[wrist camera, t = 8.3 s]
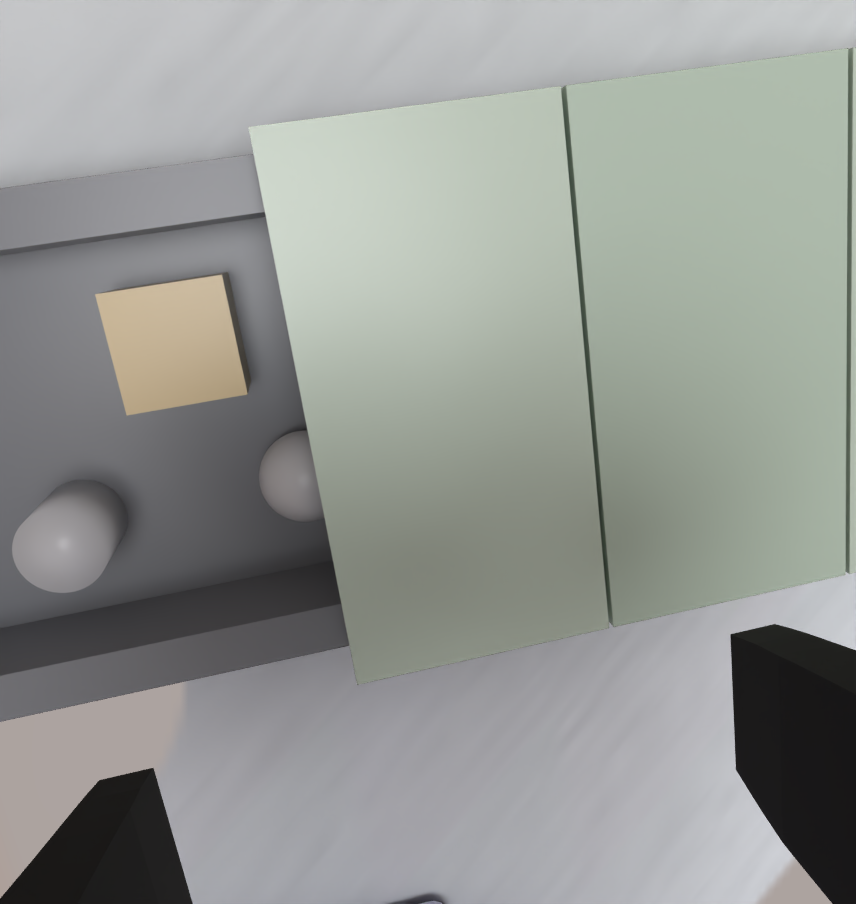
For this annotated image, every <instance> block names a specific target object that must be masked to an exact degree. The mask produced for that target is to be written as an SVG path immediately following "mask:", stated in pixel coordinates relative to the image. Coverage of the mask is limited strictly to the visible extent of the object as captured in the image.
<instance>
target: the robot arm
mask: <svg viewBox="0 0 856 904" xmlns="http://www.w3.org/2000/svg"><path fill="white" fill-rule="evenodd" d="M731 657H732V681H733V705H734V730H735V754H736V770H737V772H738V774H739V775H740V777H741V778H742V780H743V782H744V783H745V785H746V787H747V788H748V790H749V791H750V793H751V795H752V796H753V798H754V799H755V801H756V803H757V804H758V806H759V807H760V809H761V811H762V812H763V814H764V815H765V817H766V818H767V820H768V821H769V823H770V824H771V826H772V827H773V829H774V830H775V832H776V833H777V835H778V836H779V838H780V839H781V841H782V842H783V843H784V845H785V846H786V847H787V848H788V850H789V851H790V852H791V853H792V855H793V856H794V857H795V858H796V860H797V861H798V862H799V863H800V865H801V866H802V867H803V868H804V869H805V871H806V872H807V873H808V874H809V876H810V877H811V878H812V879H813V880H814V882H815V883H816V884H817V885H818V887H819V888H820V889H821V890H822V891H823V893H824V894H825V895H826V896H827V897H828V899H829V900H830V901H831V902H832V904H856V650H853V649H850V648H847V647H844V646H842V645H839V644H836V643H833V642H830V641H827V640H825V639H822V638H819V637H816V636H813V635H810V634H807V633H804V632H801V631H797V630H794V629H791V628H787V627H783V626H780V625H776V624H774V625H769V626H765V627H761V628H756V629H752V630H748V631H743V632H739V633H735V634H731ZM0 904H192V900H191V897H190V893H189V890H188V886H187V883H186V879H185V876H184V872H183V869H182V865H181V862H180V859H179V855H178V852H177V848H176V845H175V841H174V838H173V834H172V831H171V827H170V824H169V820H168V817H167V814H166V810H165V807H164V803H163V800H162V796H161V793H160V789H159V786H158V782H157V779H156V775H155V772H154V769H153V768H150V769H146V770H142V771H138V772H133V773H129V774H125V775H120V776H116V777H112V778H107V779H103V780H99V781H98V782H97V784H96V785H95V786H94V787H93V788H92V789H91V790H90V791H89V792H88V794H87V795H86V796H85V797H84V798H83V800H82V801H81V802H80V803H79V804H78V806H77V807H76V808H75V809H74V810H73V812H72V813H71V814H70V815H69V816H68V818H67V819H66V820H65V821H64V823H63V824H62V825H61V826H60V827H59V829H58V830H57V831H56V832H55V834H54V835H53V836H52V837H51V838H50V840H49V841H48V842H47V843H46V844H45V846H44V847H43V848H42V849H41V851H40V852H39V853H38V854H37V856H36V857H35V858H34V859H33V860H32V862H31V863H30V864H29V865H28V866H27V868H26V869H25V870H24V871H23V872H22V873H21V875H20V876H19V877H18V878H17V879H16V881H15V882H14V883H13V884H12V885H11V887H10V888H9V889H8V890H7V891H6V892H5V894H4V895H3V896H2V897H1V898H0ZM420 904H442V903H441V902H438V901H428V902H424V903H420Z"/></svg>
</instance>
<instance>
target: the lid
mask: <svg viewBox="0 0 856 904" xmlns="http://www.w3.org/2000/svg"><path fill="white" fill-rule="evenodd" d="M248 128H249V133H250V138H251V143H252V149H253V154H254V159H255V164H256V169H257V174H258V179H259V184H260V190H261V195H262V200H263V205H264V210H265V215H266V220H267V225H268V231H269V236H270V241H271V246H272V251H273V256H274V261H275V266H276V271H277V277H278V282H279V287H280V292H281V297H282V302H283V307H284V312H285V318H286V323H287V328H288V333H289V338H290V343H291V348H292V353H293V359H294V364H295V369H296V374H297V379H298V384H299V389H300V394H301V400H302V405H303V410H304V415H305V420H306V425H307V430H308V435H309V441H310V446H311V451H312V456H313V461H314V466H315V471H316V476H317V482H318V487H319V492H320V497H321V502H322V507H323V512H324V517H325V523H326V528H327V533H328V538H329V543H330V548H331V553H332V558H333V564H334V569H335V574H336V579H337V584H338V589H339V594H340V599H341V605H342V610H343V615H344V620H345V625H346V630H347V635H348V640H349V646H350V651H351V656H352V661H353V666H354V671H355V676H356V681H357V685H359V684H363V683H368V682H372V681H376V680H381V679H385V678H390V677H394V676H399V675H403V674H408V673H412V672H416V671H421V670H425V669H430V668H434V667H439V666H443V665H447V664H452V663H456V662H461V661H465V660H470V659H474V658H479V657H483V656H487V655H492V654H496V653H501V652H505V651H510V650H514V649H519V648H523V647H527V646H532V645H536V644H541V643H545V642H550V641H554V640H559V639H563V638H567V637H572V636H576V635H581V634H585V633H590V632H594V631H598V630H603V629H607V628H609V622H610V623H611V624H612V626H613V627H616V626H621V625H625V624H630V623H634V622H638V621H643V620H647V619H652V618H656V617H661V616H665V615H670V614H674V613H678V612H683V611H687V610H692V609H696V608H701V607H705V606H709V605H714V604H718V603H723V602H727V601H732V600H736V599H741V598H745V597H749V596H754V595H758V594H763V593H767V592H772V591H776V590H781V589H785V588H789V587H794V586H798V585H803V584H807V583H812V582H816V581H820V580H825V579H829V578H834V577H838V576H843V575H845V572H847V573H849V574H852V573H856V47H854V48H851V49H848V48H846V49H839V50H831V51H823V52H816V53H808V54H801V55H793V56H785V57H778V58H770V59H763V60H755V61H747V62H740V63H732V64H725V65H717V66H709V67H702V68H694V69H687V70H679V71H671V72H664V73H656V74H649V75H641V76H633V77H626V78H618V79H611V80H603V81H595V82H588V83H580V84H573V85H566V86H564V87H562V88H561V86H557V87H550V88H542V89H535V90H527V91H519V92H512V93H504V94H497V95H489V96H481V97H474V98H466V99H459V100H451V101H443V102H436V103H428V104H421V105H413V106H405V107H398V108H390V109H383V110H375V111H367V112H360V113H352V114H344V115H337V116H329V117H322V118H314V119H306V120H299V121H291V122H284V123H276V124H268V125H261V126H253V127H248Z"/></svg>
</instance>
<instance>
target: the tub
mask: <svg viewBox="0 0 856 904" xmlns="http://www.w3.org/2000/svg"><path fill="white" fill-rule="evenodd" d="M345 646H349V640H348V635H347V630H346V625H345V620H344V615H343V610H342V605H341V599H340V594H339V589H338V584H337V579H336V574H335V569H334V564H333V558H332V553H331V548H330V543H329V538H328V533H327V528H326V523H325V517H324V512H323V507H322V502H321V497H320V492H319V487H318V482H317V476H316V471H315V466H314V461H313V456H312V451H311V446H310V441H309V435H308V430H307V425H306V420H305V415H304V410H303V405H302V400H301V394H300V389H299V384H298V379H297V374H296V369H295V364H294V359H293V353H292V348H291V343H290V338H289V333H288V328H287V323H286V318H285V312H284V307H283V302H282V297H281V292H280V287H279V282H278V277H277V271H276V266H275V261H274V256H273V251H272V246H271V241H270V236H269V231H268V225H267V220H266V215H265V210H264V205H263V200H262V195H261V190H260V184H259V179H258V174H257V169H256V164H255V159H254V154H250V155H243V156H235V157H228V158H221V159H213V160H206V161H199V162H191V163H184V164H177V165H169V166H162V167H155V168H147V169H140V170H133V171H125V172H118V173H110V174H103V175H96V176H88V177H81V178H74V179H66V180H59V181H52V182H44V183H37V184H30V185H22V186H15V187H7V188H0V722H1V721H6V720H10V719H15V718H20V717H24V716H29V715H34V714H38V713H43V712H47V711H52V710H56V709H61V708H66V707H70V706H75V705H79V704H84V703H88V702H93V701H98V700H102V699H107V698H111V697H116V696H121V695H125V694H130V693H134V692H139V691H143V690H148V689H152V688H157V687H161V686H166V685H170V684H175V683H180V682H185V681H189V680H194V679H198V678H203V677H207V676H212V675H217V674H221V673H226V672H230V671H235V670H240V669H244V668H249V667H253V666H258V665H262V664H267V663H272V662H276V661H281V660H285V659H290V658H294V657H299V656H304V655H308V654H313V653H317V652H322V651H326V650H331V649H336V648H340V647H345Z"/></svg>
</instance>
